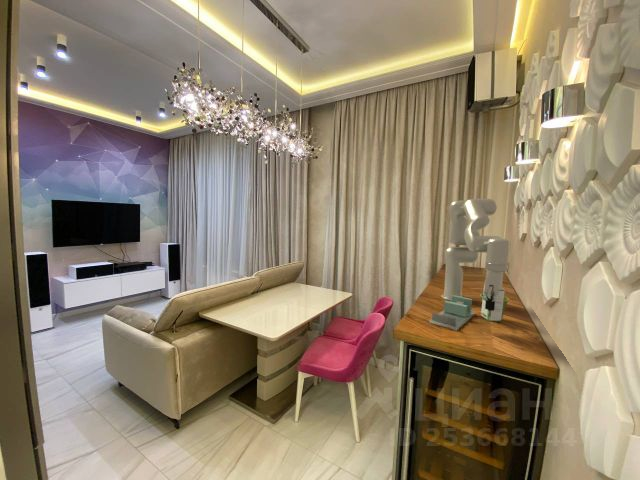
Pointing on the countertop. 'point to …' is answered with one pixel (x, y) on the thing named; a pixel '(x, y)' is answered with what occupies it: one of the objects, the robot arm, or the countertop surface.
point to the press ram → (458, 305)
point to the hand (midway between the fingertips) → (492, 306)
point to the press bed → (459, 319)
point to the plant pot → (503, 305)
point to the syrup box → (497, 312)
